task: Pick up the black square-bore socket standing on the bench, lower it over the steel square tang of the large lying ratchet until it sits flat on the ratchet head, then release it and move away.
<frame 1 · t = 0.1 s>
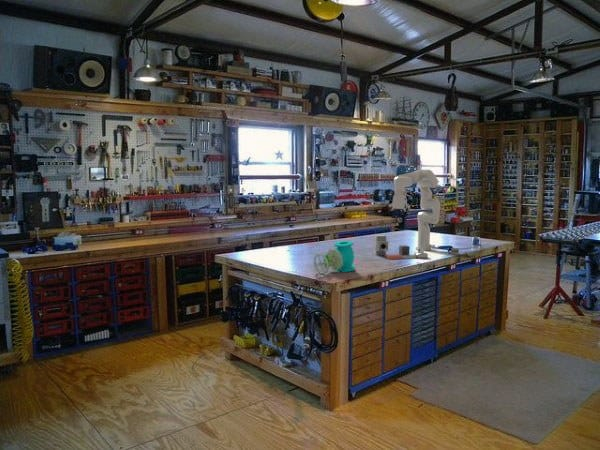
hand: (399, 216, 377), 31 cm above the workbench, tool pointing down, fingers open, 9 cm apart
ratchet: (420, 257, 379), on the workbench
circuit breaker: (380, 255, 390), on the workbench
valve: (335, 272, 327), on the workbench
socket: (404, 254, 390), on the workbench
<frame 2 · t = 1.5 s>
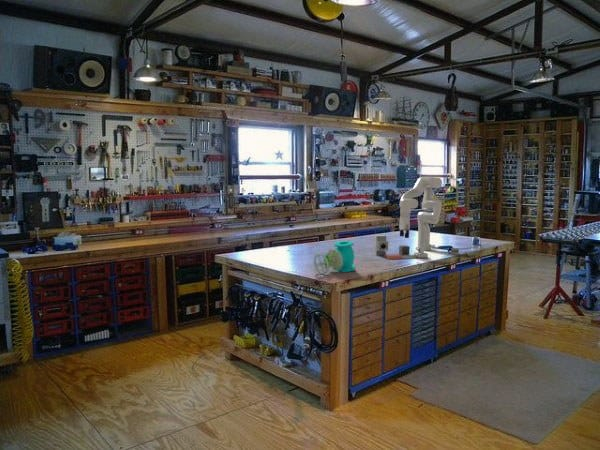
hand: (404, 237, 388), 14 cm above the workbench, tool pointing down, fingers open, 9 cm apart
nothing on the workbench moved.
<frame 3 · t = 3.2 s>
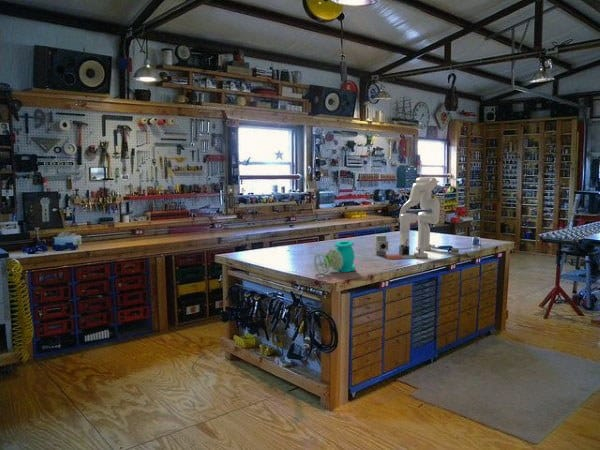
hand: (404, 252, 390), 2 cm above the workbench, tool pointing down, fingers closed on socket, 6 cm apart
socket: (404, 254, 390), on the workbench, touching gripper
everything else where it was.
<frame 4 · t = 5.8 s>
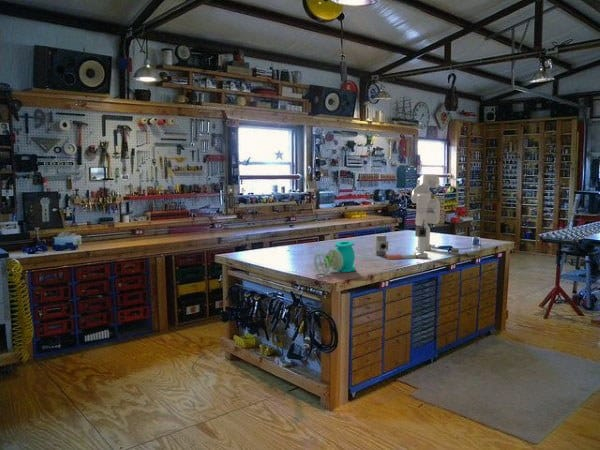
hand: (420, 234, 377), 18 cm above the workbench, tool pointing down, fingers closed on socket, 6 cm apart
socket: (420, 236, 378), point 16 cm above the workbench, touching gripper
everything else where it was.
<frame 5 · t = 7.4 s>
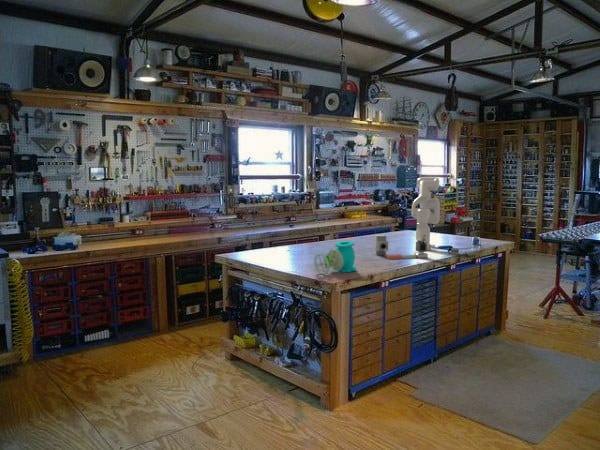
hand: (421, 249, 378), 7 cm above the workbench, tool pointing down, fingers closed on socket, 6 cm apart
socket: (420, 251, 378), point 5 cm above the workbench, touching gripper
when the fingers open (5 cm above the workbench, at t = 8.7 s): socket stays where it is, resting on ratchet.
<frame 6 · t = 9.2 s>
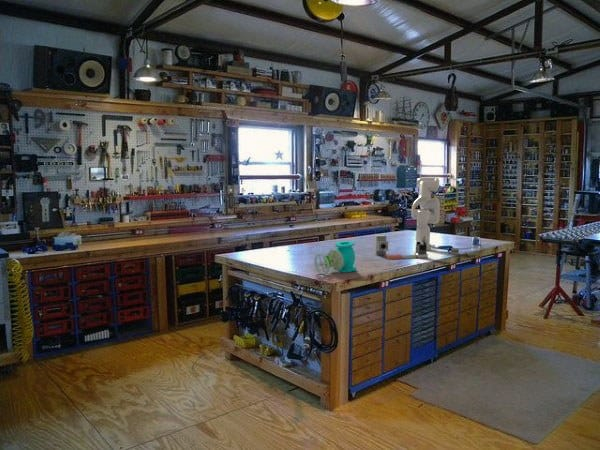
hand: (421, 249, 378), 6 cm above the workbench, tool pointing down, fingers open, 9 cm apart
socket: (420, 253, 379), point 3 cm above the workbench, touching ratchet
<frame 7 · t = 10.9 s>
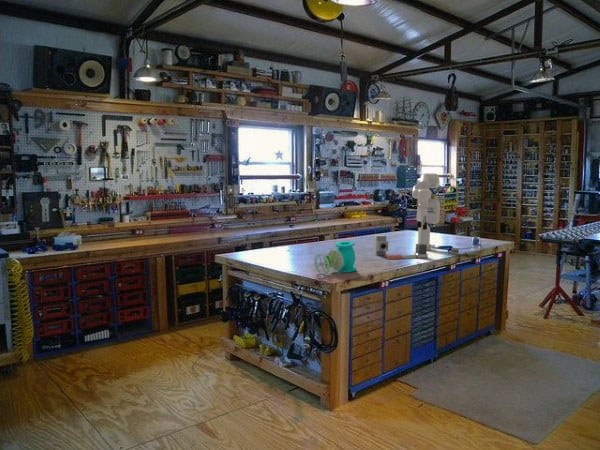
hand: (421, 228, 380), 22 cm above the workbench, tool pointing down, fingers open, 9 cm apart
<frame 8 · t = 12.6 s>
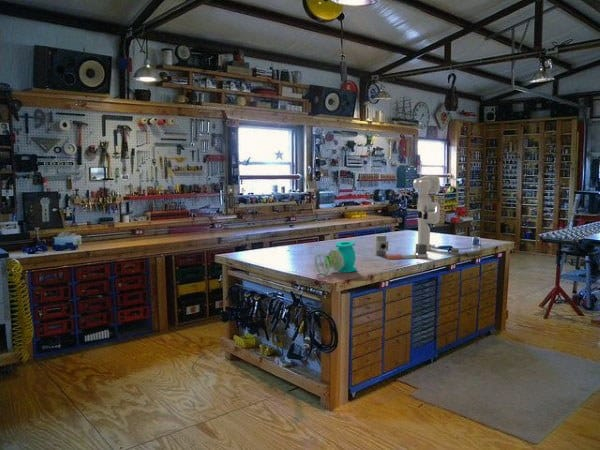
hand: (422, 218, 389), 28 cm above the workbench, tool pointing down, fingers open, 9 cm apart
at the end: socket 0.1 cm off-centre on the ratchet, point 3.0 cm above the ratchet's base; socket tilted 0°; the gripper is holding nothing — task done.
